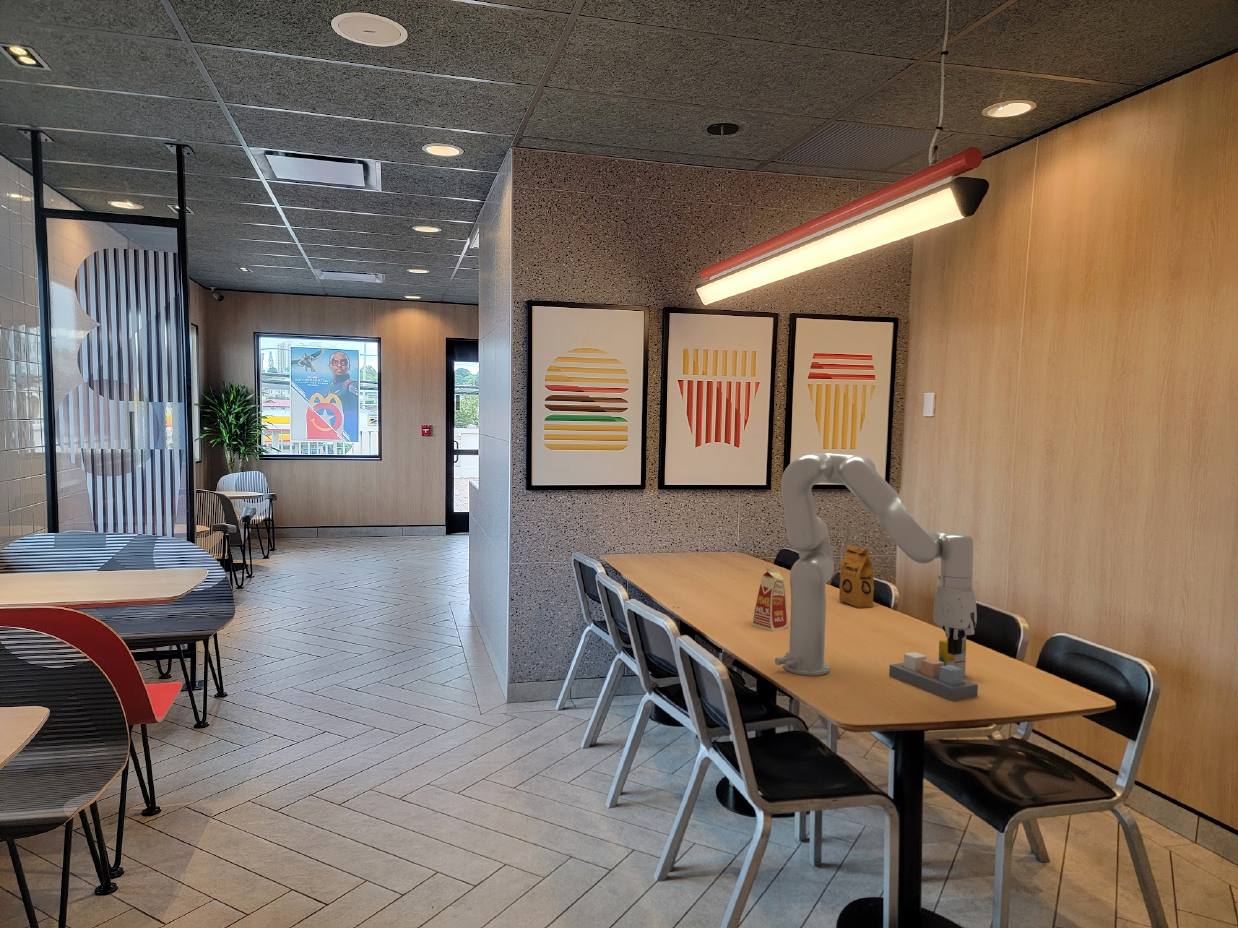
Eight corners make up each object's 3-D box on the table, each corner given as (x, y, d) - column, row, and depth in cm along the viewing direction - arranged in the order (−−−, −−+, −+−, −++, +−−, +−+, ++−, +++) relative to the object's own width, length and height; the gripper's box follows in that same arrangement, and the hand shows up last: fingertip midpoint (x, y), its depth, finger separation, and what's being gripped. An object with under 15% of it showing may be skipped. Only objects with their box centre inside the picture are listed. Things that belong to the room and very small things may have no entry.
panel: (952, 700, 197) (953, 689, 197) (889, 675, 216) (889, 664, 216) (977, 695, 201) (977, 684, 201) (913, 671, 220) (913, 660, 220)
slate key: (951, 686, 200) (952, 671, 200) (939, 681, 204) (939, 666, 204) (962, 684, 202) (963, 669, 202) (950, 679, 206) (950, 664, 206)
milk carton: (772, 631, 259) (774, 570, 258) (750, 625, 266) (752, 566, 265) (790, 627, 265) (792, 568, 263) (768, 621, 272) (770, 563, 271)
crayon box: (957, 672, 220) (958, 631, 220) (965, 675, 218) (967, 633, 217) (937, 675, 217) (939, 633, 217) (945, 678, 215) (947, 636, 214)
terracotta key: (932, 679, 206) (933, 664, 206) (920, 674, 209) (921, 659, 209) (943, 677, 208) (944, 662, 207) (931, 672, 211) (932, 658, 211)
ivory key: (914, 672, 211) (915, 657, 211) (903, 668, 215) (903, 653, 214) (925, 670, 213) (926, 656, 213) (914, 666, 216) (914, 651, 216)
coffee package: (855, 609, 292) (857, 550, 290) (835, 601, 303) (837, 544, 302) (877, 607, 295) (880, 549, 294) (857, 600, 307) (859, 544, 305)
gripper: (922, 578, 206) (921, 647, 207) (970, 589, 193) (969, 663, 194) (942, 576, 210) (941, 644, 211) (991, 586, 196) (990, 659, 197)
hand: (954, 653), depth 202 cm, fingers closed
